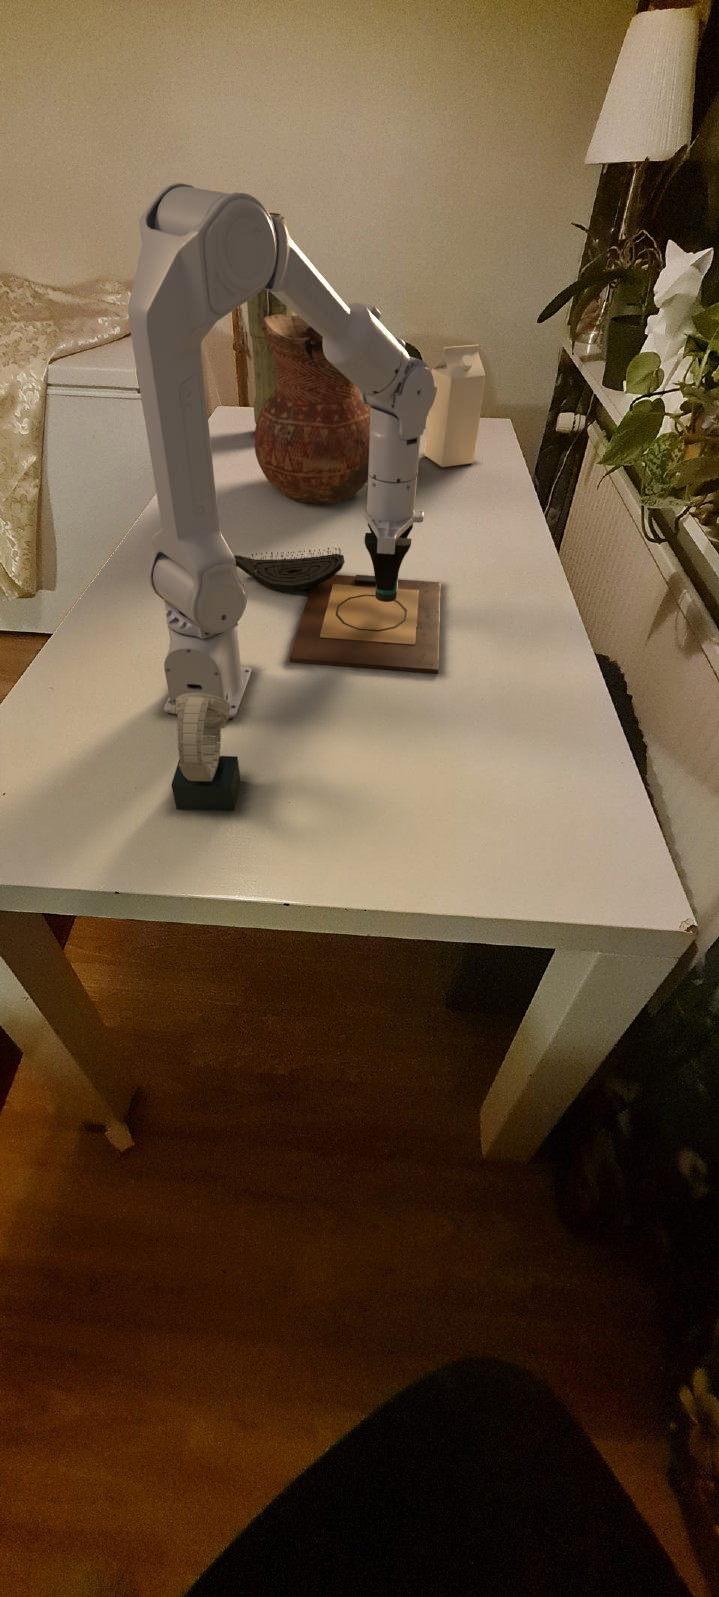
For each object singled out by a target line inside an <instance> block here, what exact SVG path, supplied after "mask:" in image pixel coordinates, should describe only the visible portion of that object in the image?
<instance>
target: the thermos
mask: <svg viewBox="0 0 719 1597" xmlns="http://www.w3.org/2000/svg"><path fill="white" fill-rule="evenodd" d="M268 213H269V215H272V216H274V217H275V218H277V219H278V220H279V221H281V222H282V223H283V224H284V225H285V226H286V229H287V232H288V234H289V237H290V238H291V234H290V230H289V228H288V224H287V219H286V217H284V216H282V214H280V213H277V212H268ZM246 307H247V324H248V333H249V336H250V338H251V344H252V345H251V346H252V360H253V375H254V376H253V377H254V388H255V389H254V391H255V398H254V401H253V416H254V423H255V424H256V423H257V420H258V416H259V414H260V411H261V409H262V407H263V405H264V404H265V402H266V401H267V400H268V398H269V397H270V396H271V395H272V394H273V393H274V391H275V389H276V387H277V370H276V363H275V360H274V356H273V353H272V349H271V347H270V344H269V342H268V341H267V338H266V336H265V334H264V332H263V331H262V329H261V327H260V321H261V320H262V319H263V318H265V317H267V316H271V315H277V314H281V315H288V316H291V317H292V316H296V315H297V314H295V313H294V312H293V311H292V310H291V309H290V308H288V307H287V306H286V305H285V304H284V303H283V302H281V301H280V300H279V299H278V298H277V297H276V296H274V295H273V294H272V293H271V292H270V291H268V290H265V289H262V290H261V291H260V292H259V293H258V294H257V295H255V296H254V297H253V298H251V299H250V300H248V301H247V302H246Z"/></svg>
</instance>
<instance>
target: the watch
mask: <svg viewBox="0 0 719 1597" xmlns="http://www.w3.org/2000/svg"><path fill="white" fill-rule="evenodd" d="M229 711H230V704H229V703H228V702H227V701H226V700H224V699H223V698H220V697H218V696H215V695H211V694H205V693H187V694H183V695H180V696H179V697H177V699H176V705H172V706H171V713H170V714H172V715H173V714H174V715H176V716H177V721H176V722H177V723H176V724H177V726H176V730H177V733H176V734H177V749H178V750H177V751H178V761H177V766H176V768H175V771H174V775H173V778H172V781H171V790H172V796H173V800H174V805H175V809H176V810H196V811H197V810H198V811H227V812H235V809H236V804H237V799H238V795H239V789H240V786H241V772H240V764H239V756H237V755H233V756H232V755H220V754H221V746H222V743H221V742H222V729H225V727H226V723H227V722H228V719H229V718H228V717H229Z"/></svg>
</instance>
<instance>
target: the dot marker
mask: <svg viewBox="0 0 719 1597" xmlns="http://www.w3.org/2000/svg"><path fill="white" fill-rule="evenodd" d="M398 579H399V576H398V577H397V581H396V584H395V587H394V590H393V591H388V590H378V589H377V586H376V593H375V597H376V599H378V600H379V601H382V602H391V601H394V600H395V599H396V598H397V586H398Z"/></svg>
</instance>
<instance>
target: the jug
mask: <svg viewBox="0 0 719 1597" xmlns="http://www.w3.org/2000/svg"><path fill="white" fill-rule="evenodd" d="M260 327H261V329H262V331H263V332H264V334H265V336H266V338H267V341H268V342H269V344H270V347H271V349H272V353H273V356H274V360H275V363H276V370H277V387H276V389H275V391H274V393H273V394H272V395H271V396H270V397H269V398H268V400H267V401H266V402H265V404H264V405H263V407H262V409H261V411H260V414H259V416H258V420H257V423H255V427H254V428H255V429H254V452H255V456H256V457H255V458H256V461H257V462H258V465H259V467H260V470H261V472H262V474H263V475H264V477H265V479H266V480H267V482H268V483H269V484H271V486H272V487H273V488H274V489H276V490H277V491H278V492H279V493H281V494H282V495H284V496H285V497H288V498H290V499H291V500H296V501H299V502H304V503H309V504H318V505H327V504H328V505H329V504H334V503H335V504H336V503H340V502H342V501H343V502H344V501H347V500H349V499H350V498H352V497H354V496H355V495H356V494H357V493H358V492H360V490H361V489H363V487H364V486H365V485H366V483H368V467H369V440H370V411H371V408H372V407H370V406H369V405H366V404H363V402H362V400H361V397H360V393H359V389H358V388H357V387H356V386H355V385H354V384H353V383H352V382H351V381H350V380H349V379H348V378H346V377H345V376H344V375H343V374H342V373H341V372H340V371H339V370H338V369H337V368H336V367H335V366H333V365H332V364H331V363H330V362H329V361H328V360H327V359H326V357H325V355H324V352H323V337H322V336H321V335H320V334H319V333H318V332H317V331H315V330H314V329H313V328H312V327H311V326H310V325H308V324H307V323H306V322H305V321H304V320H303V319H301V318H300V317H299V316H298V315H297V314H296V316H292V317H291V316H288V315H281V314H277V315H271V316H267V317H265V318H263V319H262V320H261V321H260Z"/></svg>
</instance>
